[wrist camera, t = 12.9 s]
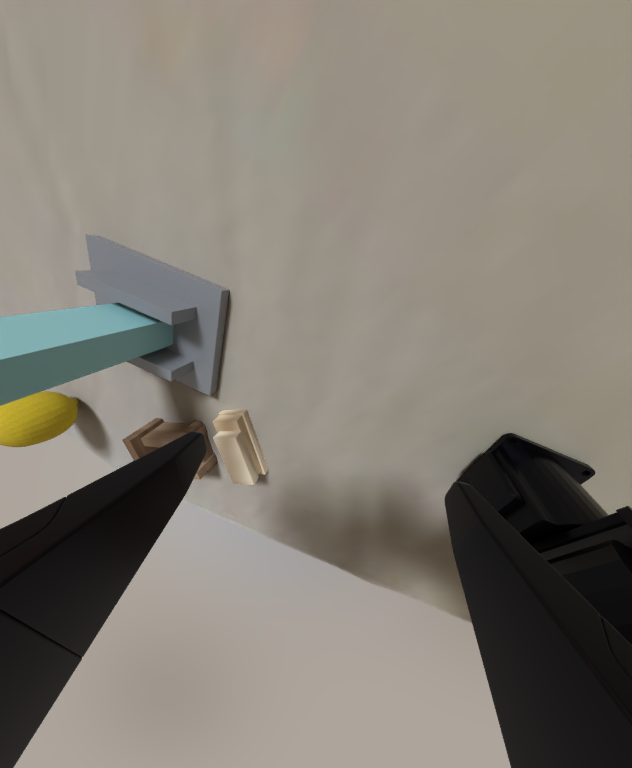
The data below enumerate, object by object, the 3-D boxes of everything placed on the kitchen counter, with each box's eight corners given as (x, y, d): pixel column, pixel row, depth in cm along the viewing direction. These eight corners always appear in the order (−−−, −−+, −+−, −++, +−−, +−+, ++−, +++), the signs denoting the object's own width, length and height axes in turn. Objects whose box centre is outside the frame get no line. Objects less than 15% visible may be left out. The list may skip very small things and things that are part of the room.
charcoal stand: (229, 289, 18) (198, 293, 15) (216, 391, 23) (191, 409, 20) (99, 236, 19) (44, 229, 16) (113, 345, 24) (74, 356, 21)
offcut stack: (248, 408, 23) (231, 425, 21) (269, 467, 26) (256, 489, 24) (224, 408, 24) (204, 425, 22) (247, 466, 27) (232, 487, 25)
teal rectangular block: (173, 319, 19) (-70, 375, 9) (173, 344, 21) (-43, 420, 10) (132, 300, 20) (-150, 335, 9) (134, 327, 21) (-115, 384, 10)
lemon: (97, 425, 31) (15, 469, 24) (62, 406, 31) (-29, 445, 24) (93, 393, 28) (-1, 433, 21) (55, 373, 28) (-51, 406, 21)
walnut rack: (203, 421, 25) (174, 445, 22) (218, 463, 28) (195, 490, 24) (154, 418, 27) (121, 439, 24) (172, 457, 30) (144, 481, 26)
